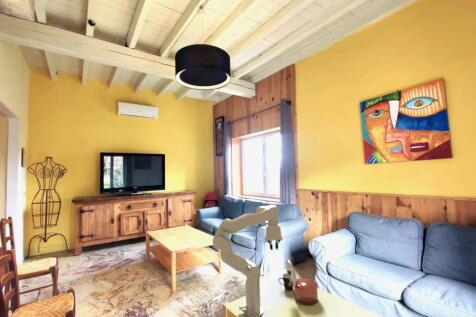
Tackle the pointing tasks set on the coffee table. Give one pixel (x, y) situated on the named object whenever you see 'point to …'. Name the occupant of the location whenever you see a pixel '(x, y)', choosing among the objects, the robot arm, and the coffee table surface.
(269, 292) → the coffee table surface
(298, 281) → the red-brown rounded block
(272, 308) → the coffee table surface
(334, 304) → the coffee table surface
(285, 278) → the coffee mug
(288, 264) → the cooker lid
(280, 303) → the coffee table surface
